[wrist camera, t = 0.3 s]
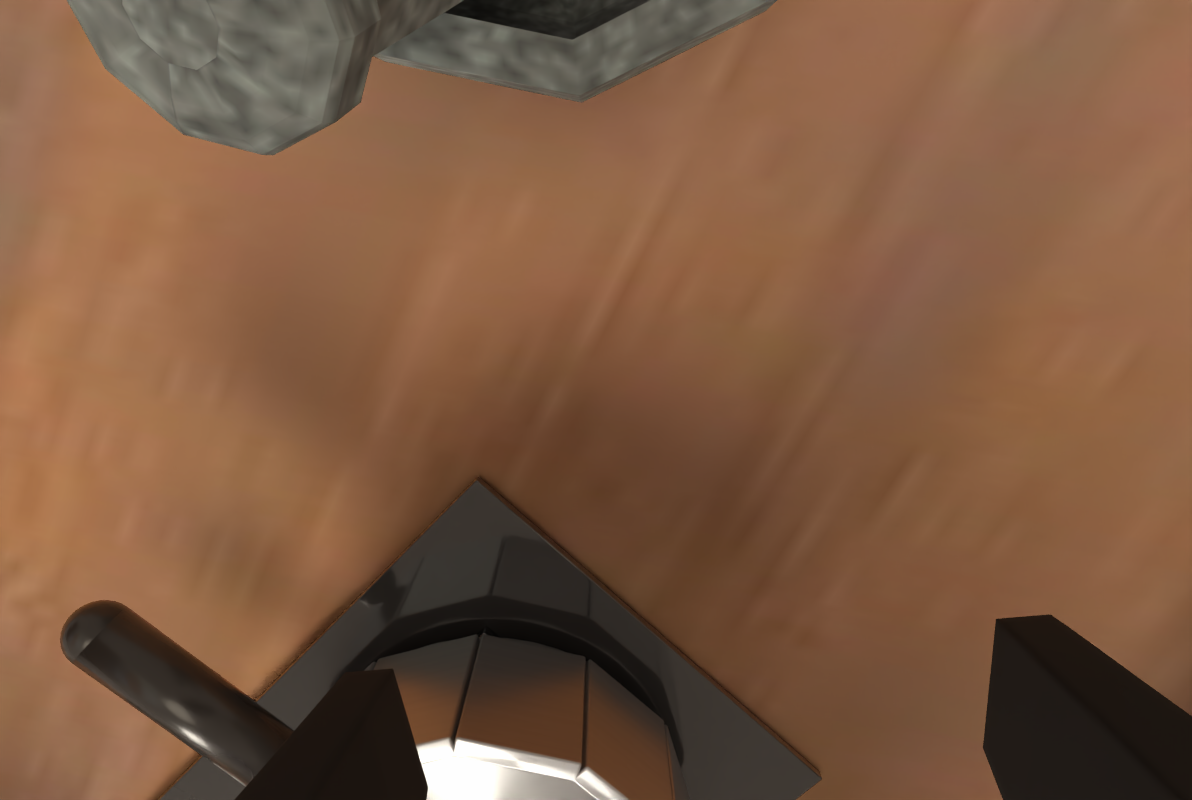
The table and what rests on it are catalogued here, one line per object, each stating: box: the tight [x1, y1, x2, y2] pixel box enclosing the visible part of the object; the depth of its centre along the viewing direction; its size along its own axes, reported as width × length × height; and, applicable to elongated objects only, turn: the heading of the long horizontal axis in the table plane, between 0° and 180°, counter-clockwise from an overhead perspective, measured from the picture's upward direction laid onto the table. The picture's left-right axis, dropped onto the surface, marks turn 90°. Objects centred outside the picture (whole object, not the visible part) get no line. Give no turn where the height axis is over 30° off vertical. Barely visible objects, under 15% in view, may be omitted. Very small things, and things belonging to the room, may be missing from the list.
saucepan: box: [60, 600, 690, 800], centre depth 20 cm, size 16×10×5 cm, turn 46°
